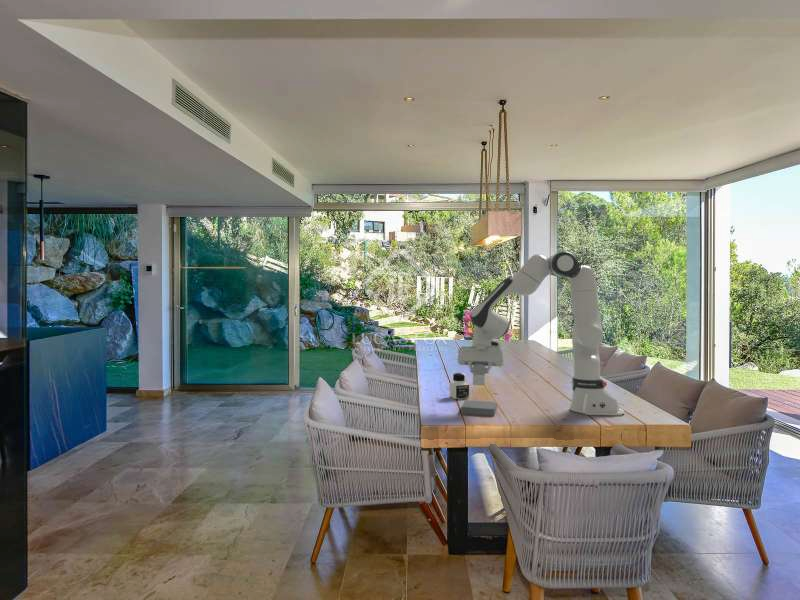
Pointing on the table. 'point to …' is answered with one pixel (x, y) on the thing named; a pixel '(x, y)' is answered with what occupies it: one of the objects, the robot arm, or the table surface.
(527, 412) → the table surface
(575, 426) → the table surface
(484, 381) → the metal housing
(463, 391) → the medicine bottle
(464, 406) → the charcoal stand
